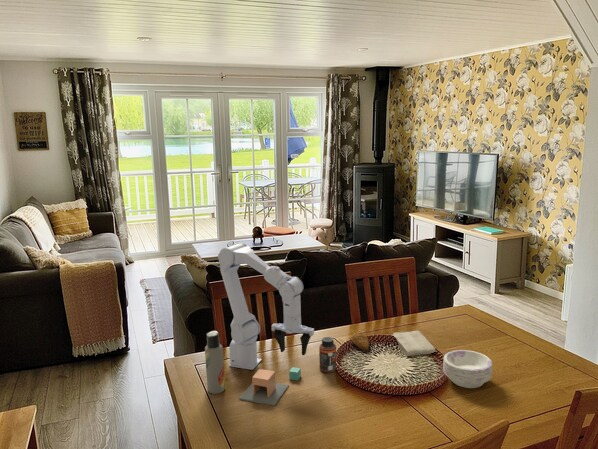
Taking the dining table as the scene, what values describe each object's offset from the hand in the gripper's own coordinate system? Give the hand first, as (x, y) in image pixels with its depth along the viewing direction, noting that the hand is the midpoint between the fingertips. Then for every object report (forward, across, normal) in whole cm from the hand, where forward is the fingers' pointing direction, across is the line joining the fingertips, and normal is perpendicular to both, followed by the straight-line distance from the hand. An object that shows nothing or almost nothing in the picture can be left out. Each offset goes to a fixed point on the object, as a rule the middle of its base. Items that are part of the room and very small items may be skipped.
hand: (293, 352), depth 164 cm
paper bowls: (+10, +55, +16) cm, 58 cm away
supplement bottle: (+10, +9, +10) cm, 16 cm away
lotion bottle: (+10, -22, -15) cm, 28 cm away
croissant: (+10, +15, +32) cm, 36 cm away
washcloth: (+10, +35, +38) cm, 52 cm away
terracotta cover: (+9, -6, -12) cm, 16 cm away
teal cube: (+10, 0, 0) cm, 10 cm away
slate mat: (+9, -6, -12) cm, 16 cm away
